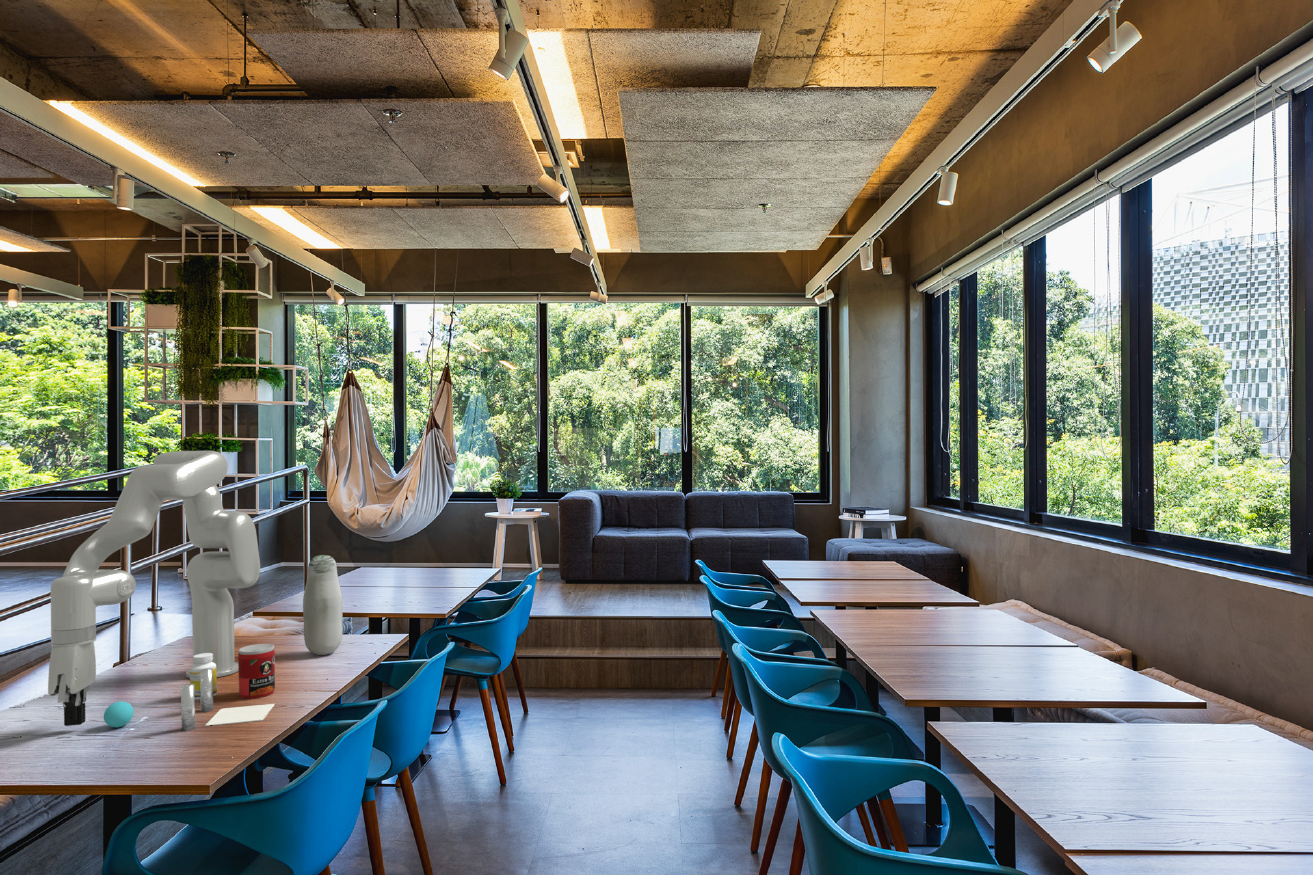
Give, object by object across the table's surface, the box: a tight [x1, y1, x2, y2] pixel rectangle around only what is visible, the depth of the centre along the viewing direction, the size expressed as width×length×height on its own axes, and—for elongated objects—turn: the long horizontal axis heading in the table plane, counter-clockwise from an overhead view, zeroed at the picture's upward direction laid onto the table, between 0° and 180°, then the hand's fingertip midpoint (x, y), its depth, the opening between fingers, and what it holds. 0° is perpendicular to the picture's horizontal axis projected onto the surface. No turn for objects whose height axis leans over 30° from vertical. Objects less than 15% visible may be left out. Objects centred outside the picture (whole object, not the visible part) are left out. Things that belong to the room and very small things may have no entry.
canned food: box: [237, 643, 276, 700], centre depth 185 cm, size 8×8×11 cm
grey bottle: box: [302, 554, 343, 656], centre depth 221 cm, size 10×10×28 cm
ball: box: [103, 700, 135, 728], centre depth 164 cm, size 5×5×5 cm
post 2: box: [200, 668, 214, 713], centre depth 174 cm, size 2×2×9 cm
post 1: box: [180, 683, 196, 732], centre depth 162 cm, size 2×2×9 cm
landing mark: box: [205, 703, 275, 727], centre depth 170 cm, size 11×11×1 cm
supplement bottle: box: [189, 653, 218, 701], centre depth 184 cm, size 5×5×10 cm
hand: (74, 723), depth 162 cm, fingers closed
